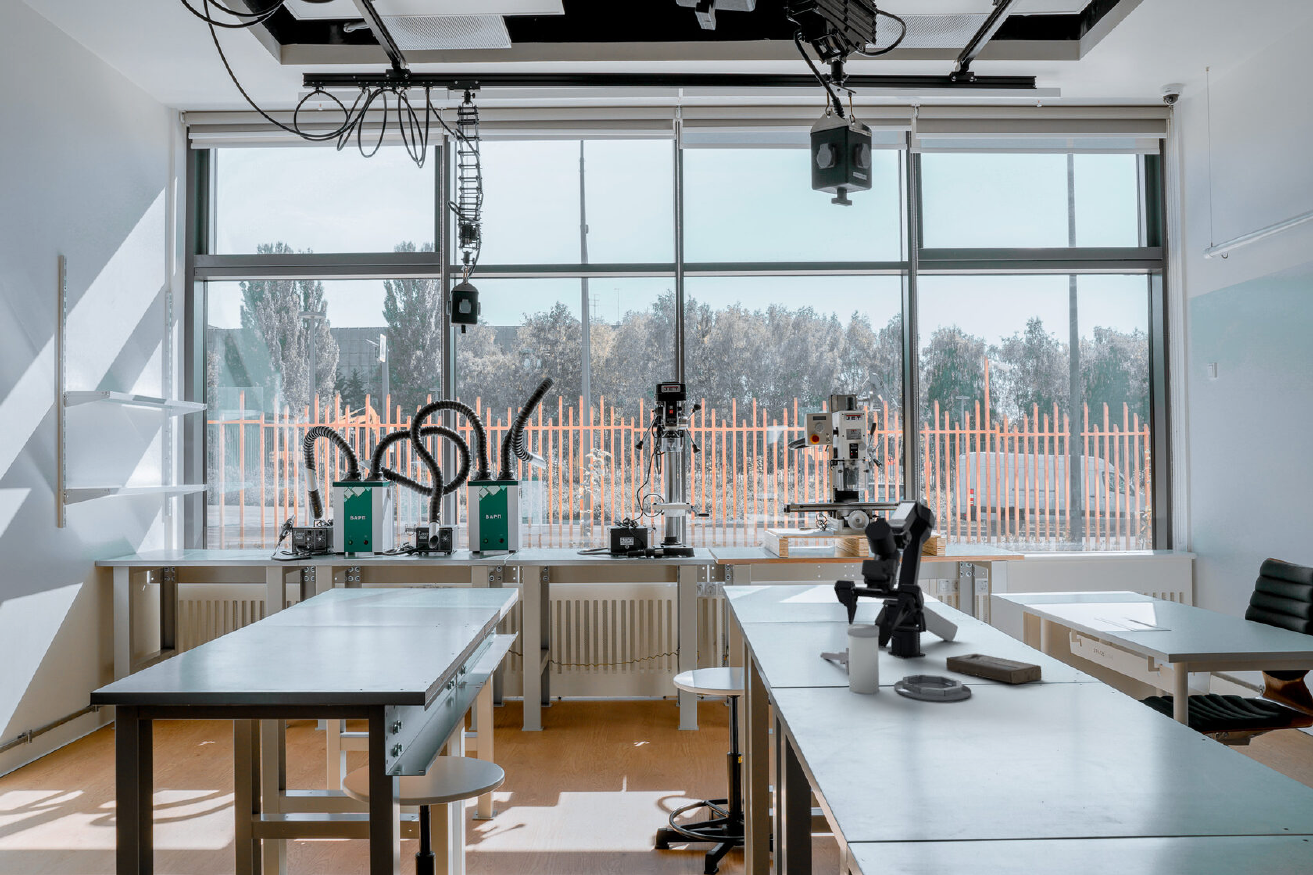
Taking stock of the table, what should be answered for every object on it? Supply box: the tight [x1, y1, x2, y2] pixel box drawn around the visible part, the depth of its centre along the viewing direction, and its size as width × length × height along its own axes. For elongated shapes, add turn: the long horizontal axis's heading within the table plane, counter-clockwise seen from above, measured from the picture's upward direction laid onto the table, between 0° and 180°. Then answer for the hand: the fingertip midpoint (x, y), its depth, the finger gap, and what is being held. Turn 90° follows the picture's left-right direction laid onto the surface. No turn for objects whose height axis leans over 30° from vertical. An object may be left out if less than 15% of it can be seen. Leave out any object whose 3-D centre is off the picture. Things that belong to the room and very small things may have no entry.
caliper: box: [820, 647, 849, 676], centre depth 193 cm, size 20×1×6 cm, turn 8°
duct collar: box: [893, 674, 972, 703], centre depth 170 cm, size 15×15×2 cm
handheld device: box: [873, 587, 958, 648], centre depth 216 cm, size 4×22×15 cm, turn 107°
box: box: [945, 653, 1043, 685], centre depth 184 cm, size 11×17×3 cm, turn 30°
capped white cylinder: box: [847, 623, 880, 695], centre depth 172 cm, size 6×6×13 cm
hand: (871, 626), depth 178 cm, fingers open, 9 cm apart
